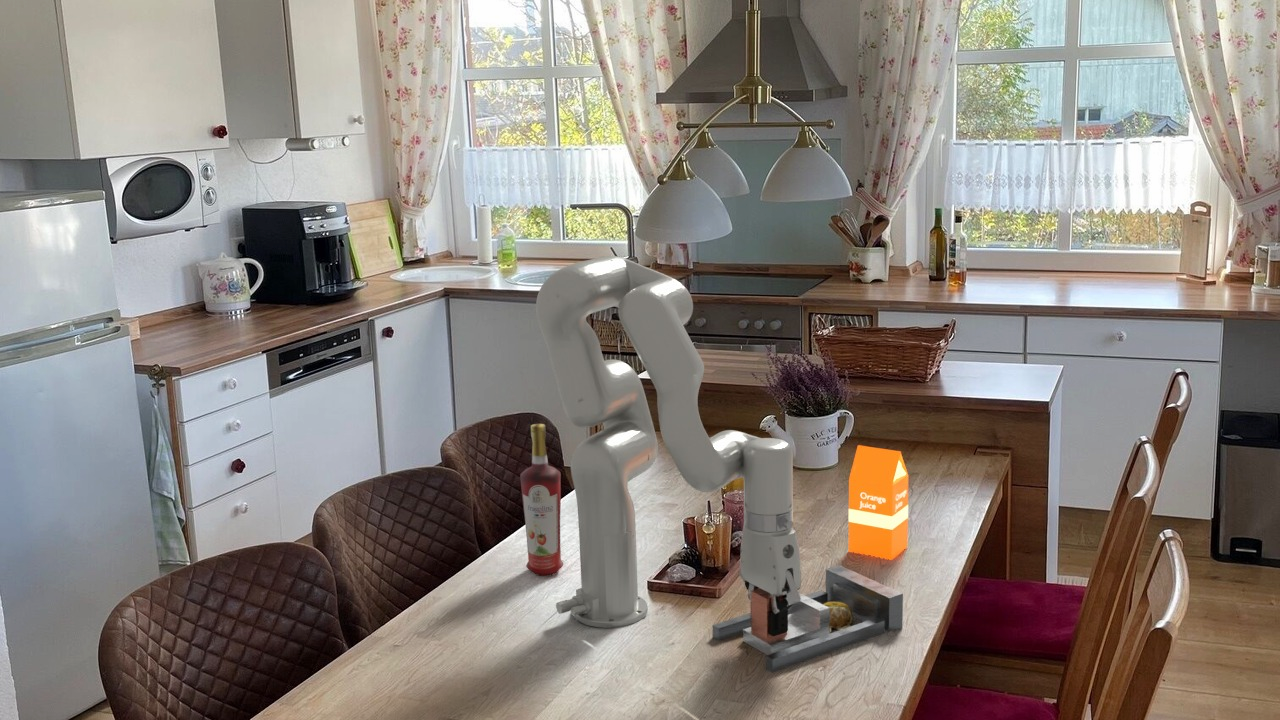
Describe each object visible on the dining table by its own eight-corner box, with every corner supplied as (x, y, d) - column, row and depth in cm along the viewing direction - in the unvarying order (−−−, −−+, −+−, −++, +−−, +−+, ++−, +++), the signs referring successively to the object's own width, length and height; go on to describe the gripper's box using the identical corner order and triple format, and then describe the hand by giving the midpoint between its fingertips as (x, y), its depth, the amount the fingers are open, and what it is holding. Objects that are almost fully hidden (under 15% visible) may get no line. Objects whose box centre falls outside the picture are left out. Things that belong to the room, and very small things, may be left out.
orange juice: (864, 538, 240) (865, 439, 236) (907, 547, 235) (909, 446, 231) (847, 551, 234) (848, 450, 230) (891, 560, 229) (893, 457, 225)
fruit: (810, 638, 199) (810, 617, 198) (809, 616, 207) (809, 595, 206) (862, 639, 198) (863, 617, 197) (859, 617, 206) (859, 596, 205)
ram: (770, 657, 192) (770, 603, 190) (743, 641, 197) (742, 588, 195) (829, 636, 198) (829, 584, 196) (800, 621, 204) (800, 570, 202)
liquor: (523, 579, 225) (515, 431, 219) (527, 564, 233) (520, 420, 227) (563, 578, 225) (556, 430, 219) (566, 563, 232) (560, 419, 226)
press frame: (772, 674, 187) (772, 637, 185) (712, 638, 199) (712, 604, 198) (902, 628, 201) (902, 593, 200) (838, 597, 213) (839, 565, 212)
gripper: (822, 528, 186) (822, 641, 190) (754, 499, 200) (755, 604, 204) (784, 539, 182) (784, 654, 186) (716, 509, 196) (718, 616, 200)
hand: (769, 627), depth 195 cm, fingers closed on ram, 4 cm apart
